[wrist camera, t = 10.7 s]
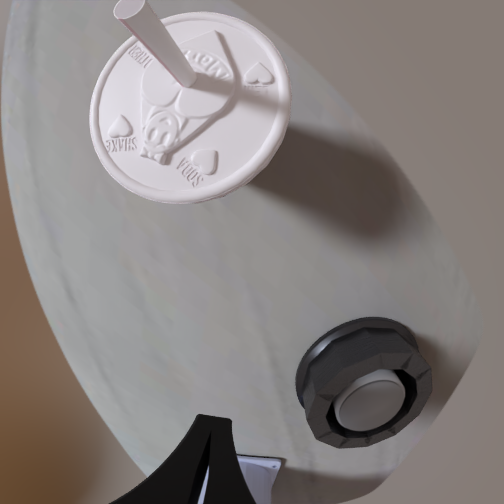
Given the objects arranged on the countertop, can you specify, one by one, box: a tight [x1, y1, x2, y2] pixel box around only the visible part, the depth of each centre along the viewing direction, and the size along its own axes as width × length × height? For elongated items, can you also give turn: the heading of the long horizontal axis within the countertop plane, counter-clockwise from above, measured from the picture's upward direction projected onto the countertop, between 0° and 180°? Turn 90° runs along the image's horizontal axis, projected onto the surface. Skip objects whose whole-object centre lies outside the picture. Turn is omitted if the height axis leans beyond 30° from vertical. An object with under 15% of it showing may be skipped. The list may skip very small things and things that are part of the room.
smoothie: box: [90, 0, 292, 204], centre depth 10 cm, size 6×6×14 cm
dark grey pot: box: [295, 317, 432, 448], centre depth 18 cm, size 10×10×4 cm
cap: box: [332, 369, 405, 431], centre depth 18 cm, size 5×5×4 cm
